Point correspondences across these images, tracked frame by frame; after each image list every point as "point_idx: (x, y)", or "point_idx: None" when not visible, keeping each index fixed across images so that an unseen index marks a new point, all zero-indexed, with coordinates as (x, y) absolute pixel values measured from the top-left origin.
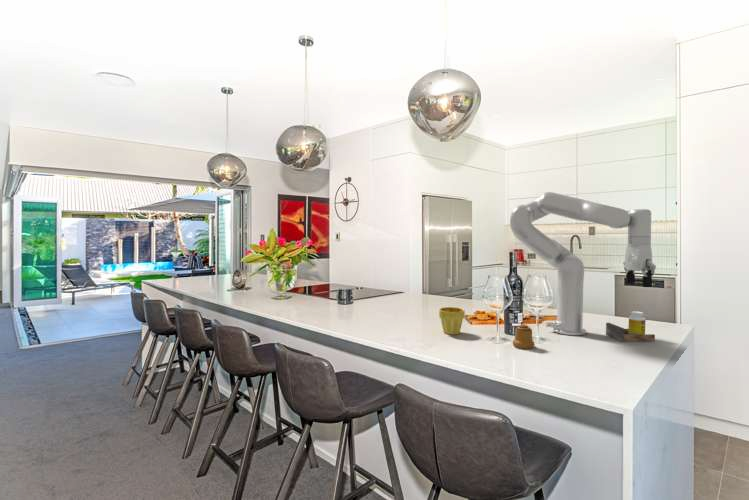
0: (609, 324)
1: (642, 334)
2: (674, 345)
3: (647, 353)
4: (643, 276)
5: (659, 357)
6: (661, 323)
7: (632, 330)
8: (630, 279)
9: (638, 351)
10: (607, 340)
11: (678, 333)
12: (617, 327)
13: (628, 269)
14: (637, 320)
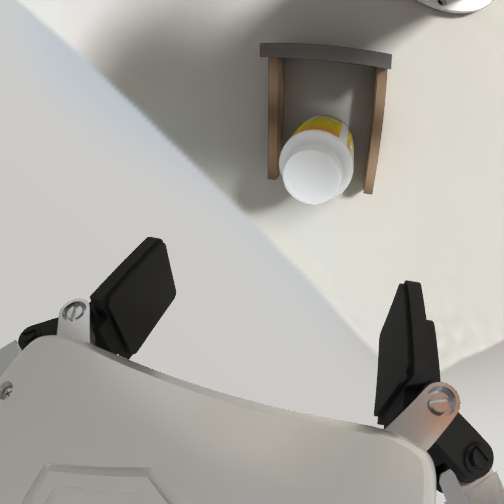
0: (361, 49)
1: (275, 136)
2: (227, 194)
3: (143, 58)
4: (100, 306)
5: (115, 72)
6: (453, 355)
7: (309, 121)
8: (391, 339)
9: (159, 42)
10: (295, 8)
11: (356, 313)
12: (291, 43)
13: (315, 417)
14: (285, 144)
